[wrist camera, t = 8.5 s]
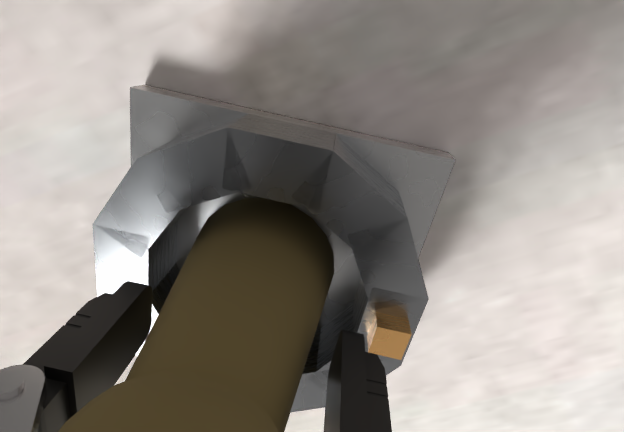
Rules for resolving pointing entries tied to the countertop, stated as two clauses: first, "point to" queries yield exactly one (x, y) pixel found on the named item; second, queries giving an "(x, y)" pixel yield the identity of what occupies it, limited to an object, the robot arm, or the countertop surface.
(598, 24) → the countertop surface
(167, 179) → the hub
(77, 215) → the countertop surface
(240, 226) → the cork
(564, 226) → the countertop surface
